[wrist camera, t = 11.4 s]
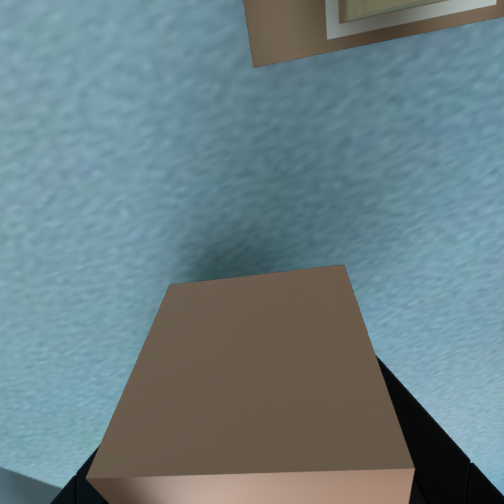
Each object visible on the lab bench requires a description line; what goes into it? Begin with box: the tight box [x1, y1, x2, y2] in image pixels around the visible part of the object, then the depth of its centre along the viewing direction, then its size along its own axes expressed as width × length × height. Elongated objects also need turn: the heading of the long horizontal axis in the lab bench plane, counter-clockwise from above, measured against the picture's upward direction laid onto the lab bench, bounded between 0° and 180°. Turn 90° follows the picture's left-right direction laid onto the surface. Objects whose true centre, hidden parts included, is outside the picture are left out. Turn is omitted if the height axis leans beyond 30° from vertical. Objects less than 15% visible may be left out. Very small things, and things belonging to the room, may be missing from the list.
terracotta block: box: [86, 265, 415, 504], centre depth 8 cm, size 5×5×5 cm
